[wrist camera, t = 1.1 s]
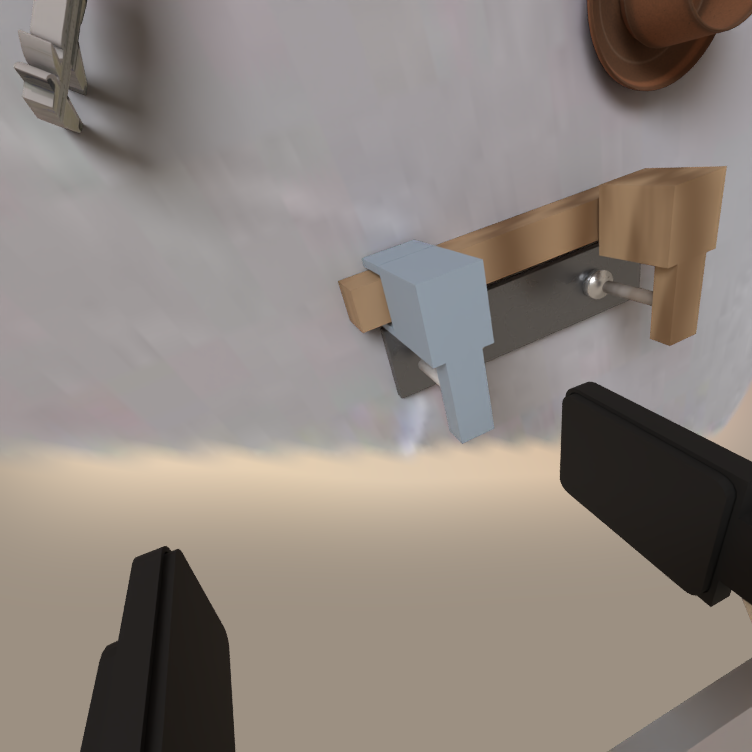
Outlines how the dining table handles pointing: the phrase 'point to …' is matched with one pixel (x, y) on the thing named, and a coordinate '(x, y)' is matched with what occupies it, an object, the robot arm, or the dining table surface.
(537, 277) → the bolt plate
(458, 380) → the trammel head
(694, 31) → the cup and saucer
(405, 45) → the dining table surface
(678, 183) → the beam
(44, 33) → the caliper
